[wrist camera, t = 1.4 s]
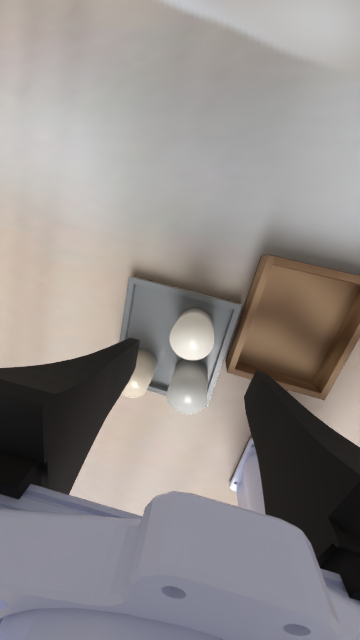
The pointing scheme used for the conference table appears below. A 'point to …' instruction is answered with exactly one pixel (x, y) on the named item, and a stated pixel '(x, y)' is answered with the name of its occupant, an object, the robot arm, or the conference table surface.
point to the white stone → (193, 334)
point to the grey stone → (188, 387)
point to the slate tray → (161, 315)
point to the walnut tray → (297, 325)
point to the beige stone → (141, 374)
